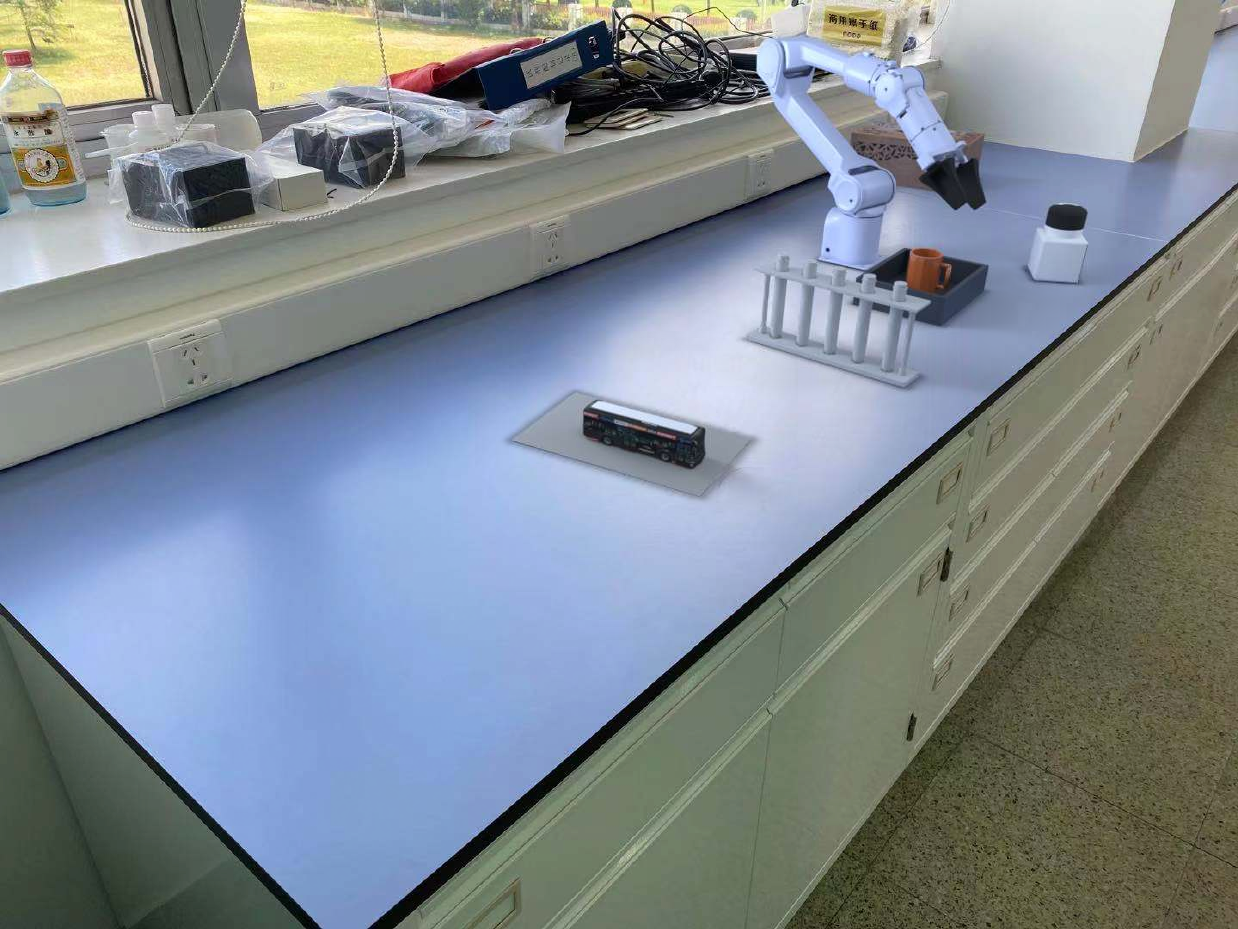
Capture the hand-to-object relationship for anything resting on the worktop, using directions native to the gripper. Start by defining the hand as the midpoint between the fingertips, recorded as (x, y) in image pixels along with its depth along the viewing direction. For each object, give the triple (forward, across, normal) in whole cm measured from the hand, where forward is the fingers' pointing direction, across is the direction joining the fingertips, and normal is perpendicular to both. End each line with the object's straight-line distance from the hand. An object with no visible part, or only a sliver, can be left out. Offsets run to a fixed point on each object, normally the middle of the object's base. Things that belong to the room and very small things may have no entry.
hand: (970, 206), depth 149 cm
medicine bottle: (+13, +23, +2) cm, 27 cm away
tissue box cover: (-28, +64, +29) cm, 76 cm away
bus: (+15, -67, +26) cm, 73 cm away
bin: (+8, -2, +14) cm, 16 cm away
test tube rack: (+13, -31, +17) cm, 38 cm away
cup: (+7, -2, +13) cm, 15 cm away
